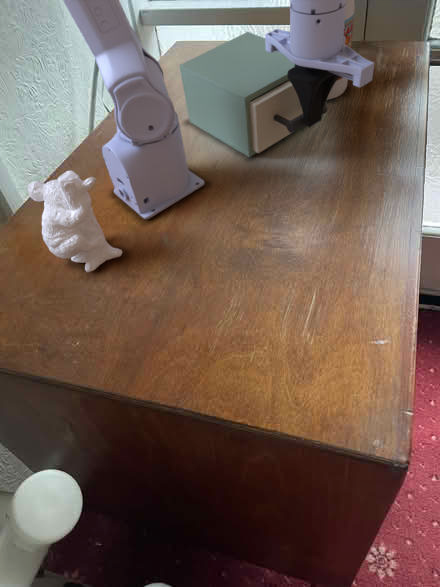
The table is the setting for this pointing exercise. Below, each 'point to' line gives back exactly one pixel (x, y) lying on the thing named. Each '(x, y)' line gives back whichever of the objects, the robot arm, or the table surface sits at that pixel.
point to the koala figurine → (72, 221)
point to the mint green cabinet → (231, 87)
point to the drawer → (275, 116)
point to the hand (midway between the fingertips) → (312, 122)
